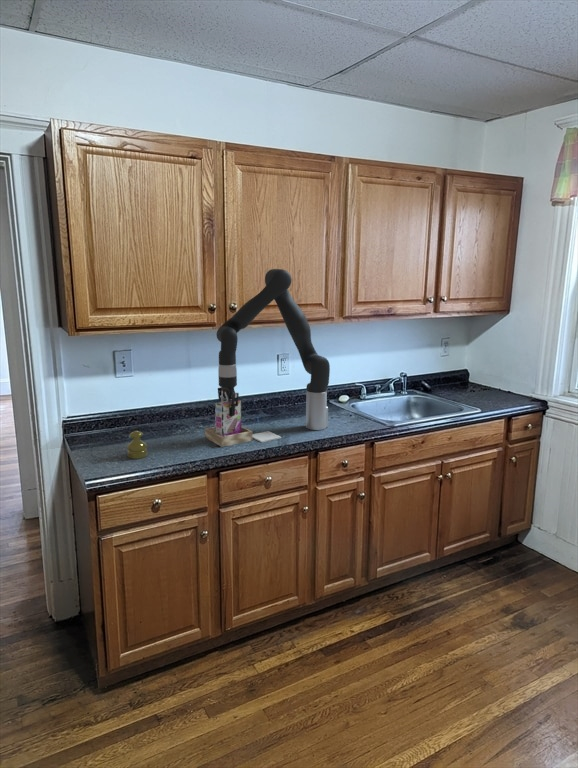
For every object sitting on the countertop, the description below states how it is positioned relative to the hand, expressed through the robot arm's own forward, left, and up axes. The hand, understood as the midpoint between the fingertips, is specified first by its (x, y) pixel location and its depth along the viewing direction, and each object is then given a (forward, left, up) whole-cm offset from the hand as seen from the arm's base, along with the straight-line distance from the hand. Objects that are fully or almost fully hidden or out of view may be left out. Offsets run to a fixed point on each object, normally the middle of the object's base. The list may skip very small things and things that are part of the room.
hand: (228, 413), depth 222 cm
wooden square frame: (0, 0, -11) cm, 11 cm away
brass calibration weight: (+39, -2, -11) cm, 41 cm away
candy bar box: (0, 0, -11) cm, 11 cm away
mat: (-14, +7, -11) cm, 19 cm away
